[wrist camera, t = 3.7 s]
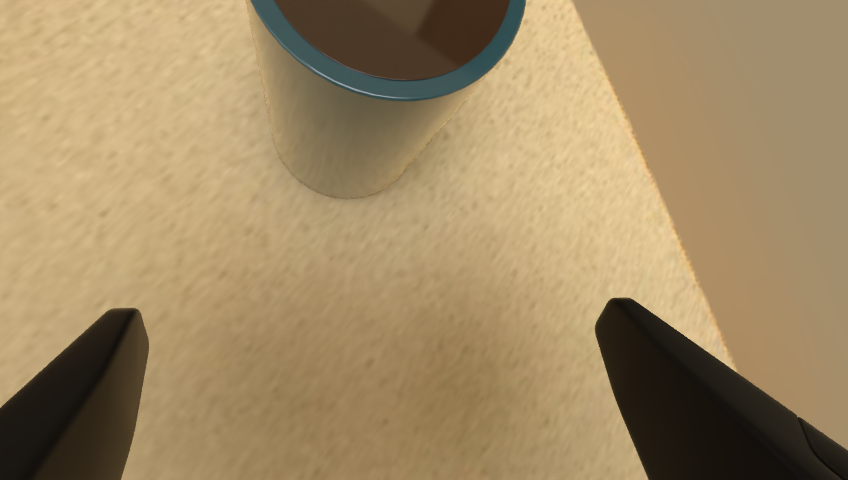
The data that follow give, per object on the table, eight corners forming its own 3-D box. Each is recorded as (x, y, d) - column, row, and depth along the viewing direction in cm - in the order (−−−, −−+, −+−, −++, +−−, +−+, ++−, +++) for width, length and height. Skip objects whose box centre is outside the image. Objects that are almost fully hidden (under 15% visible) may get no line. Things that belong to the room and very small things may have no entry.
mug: (371, 225, 23) (447, 157, 11) (242, 148, 22) (168, -23, 10) (464, 68, 25) (615, -138, 13) (349, -10, 24) (397, -316, 12)
